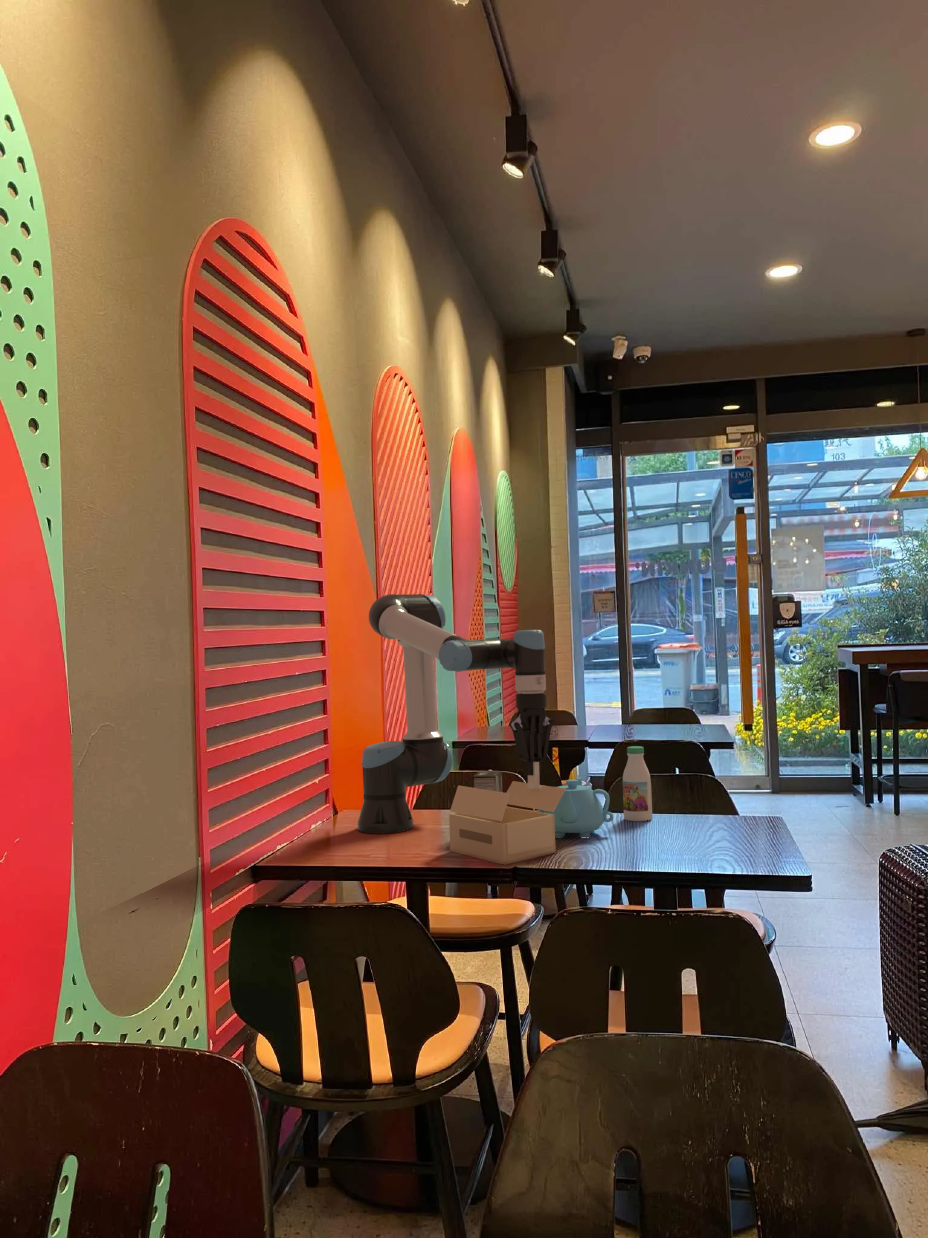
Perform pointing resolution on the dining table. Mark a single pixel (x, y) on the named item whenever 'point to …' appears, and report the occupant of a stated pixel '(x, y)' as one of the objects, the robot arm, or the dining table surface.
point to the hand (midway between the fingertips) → (533, 788)
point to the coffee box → (488, 780)
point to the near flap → (480, 802)
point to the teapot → (579, 810)
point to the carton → (503, 836)
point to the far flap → (534, 796)
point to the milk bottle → (636, 787)
